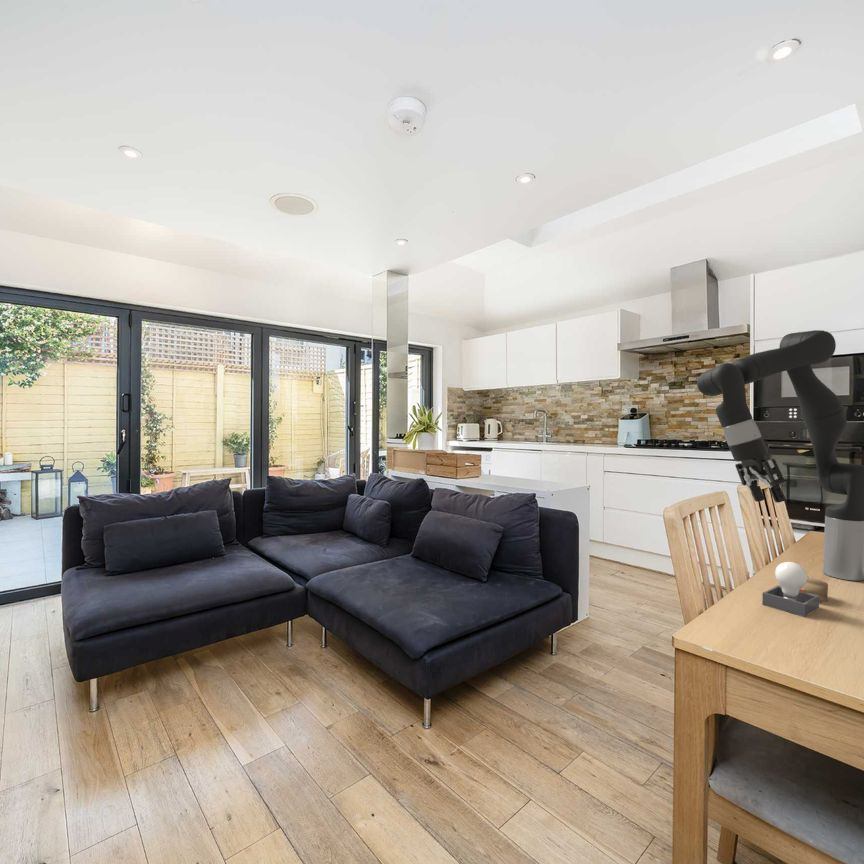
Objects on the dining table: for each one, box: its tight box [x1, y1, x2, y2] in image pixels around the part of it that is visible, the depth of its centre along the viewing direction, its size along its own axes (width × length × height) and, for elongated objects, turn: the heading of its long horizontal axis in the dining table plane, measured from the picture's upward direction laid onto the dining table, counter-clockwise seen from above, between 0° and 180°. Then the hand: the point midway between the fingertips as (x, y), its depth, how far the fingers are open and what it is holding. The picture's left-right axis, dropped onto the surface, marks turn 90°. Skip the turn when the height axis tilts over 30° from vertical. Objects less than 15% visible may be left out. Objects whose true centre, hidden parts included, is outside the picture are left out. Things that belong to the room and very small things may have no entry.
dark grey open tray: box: [761, 584, 820, 618], centre depth 116 cm, size 10×9×4 cm
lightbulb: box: [774, 561, 808, 601], centre depth 116 cm, size 6×6×11 cm
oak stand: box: [802, 576, 829, 604], centre depth 123 cm, size 8×8×4 cm
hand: (770, 501), depth 118 cm, fingers open, 8 cm apart
